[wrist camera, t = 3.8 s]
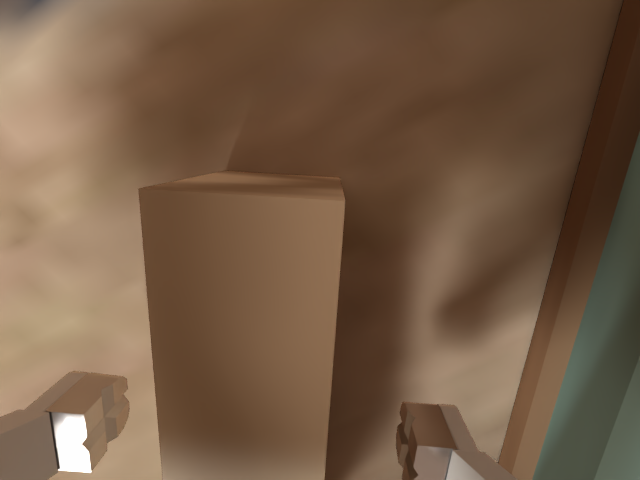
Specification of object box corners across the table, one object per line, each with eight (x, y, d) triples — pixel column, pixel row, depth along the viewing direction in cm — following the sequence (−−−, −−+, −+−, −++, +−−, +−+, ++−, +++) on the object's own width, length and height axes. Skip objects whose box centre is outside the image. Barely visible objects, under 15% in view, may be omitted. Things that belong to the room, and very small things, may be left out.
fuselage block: (339, 177, 11) (345, 201, 6) (317, 499, 14) (308, 686, 9) (226, 170, 11) (138, 188, 6) (231, 492, 14) (178, 674, 9)
